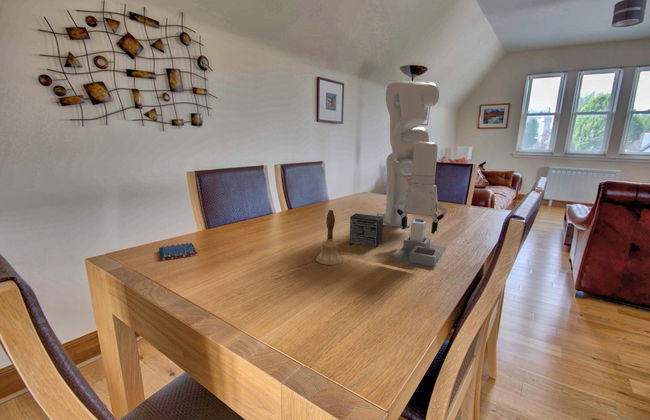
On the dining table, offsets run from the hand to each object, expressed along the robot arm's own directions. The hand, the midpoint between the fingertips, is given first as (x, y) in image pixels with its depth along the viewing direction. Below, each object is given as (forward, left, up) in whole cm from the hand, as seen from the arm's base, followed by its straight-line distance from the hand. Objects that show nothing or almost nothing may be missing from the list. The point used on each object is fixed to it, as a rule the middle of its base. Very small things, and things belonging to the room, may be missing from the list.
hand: (418, 230), depth 107 cm
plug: (0, 0, -6) cm, 6 cm away
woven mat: (-65, -45, -8) cm, 80 cm away
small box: (-17, -4, -7) cm, 19 cm away
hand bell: (-21, -24, -7) cm, 33 cm away
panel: (+2, -5, -7) cm, 9 cm away
